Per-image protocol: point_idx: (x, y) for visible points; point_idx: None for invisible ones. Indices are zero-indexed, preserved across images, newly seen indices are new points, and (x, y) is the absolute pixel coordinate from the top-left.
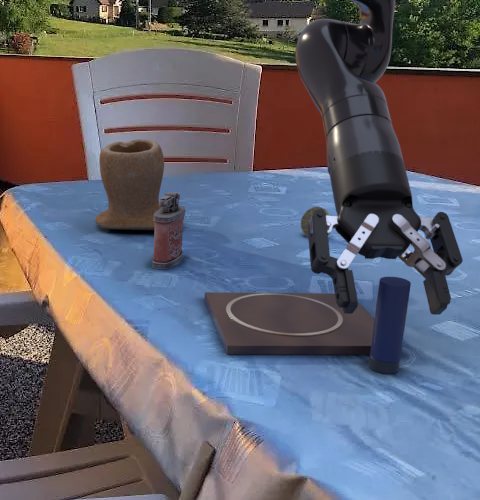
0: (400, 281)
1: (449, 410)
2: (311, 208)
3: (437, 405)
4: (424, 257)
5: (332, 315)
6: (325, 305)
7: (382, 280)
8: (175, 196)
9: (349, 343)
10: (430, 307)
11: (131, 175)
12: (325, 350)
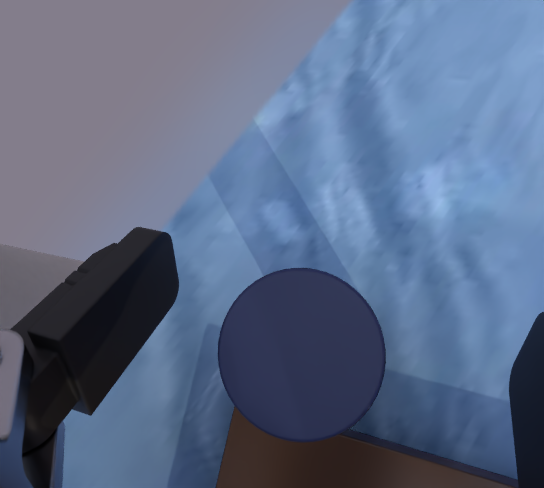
0: (271, 340)
1: (320, 111)
2: None
3: (332, 134)
4: (13, 424)
5: None
6: None
7: (368, 379)
8: None
9: (385, 468)
10: (163, 309)
11: None
12: (475, 470)
